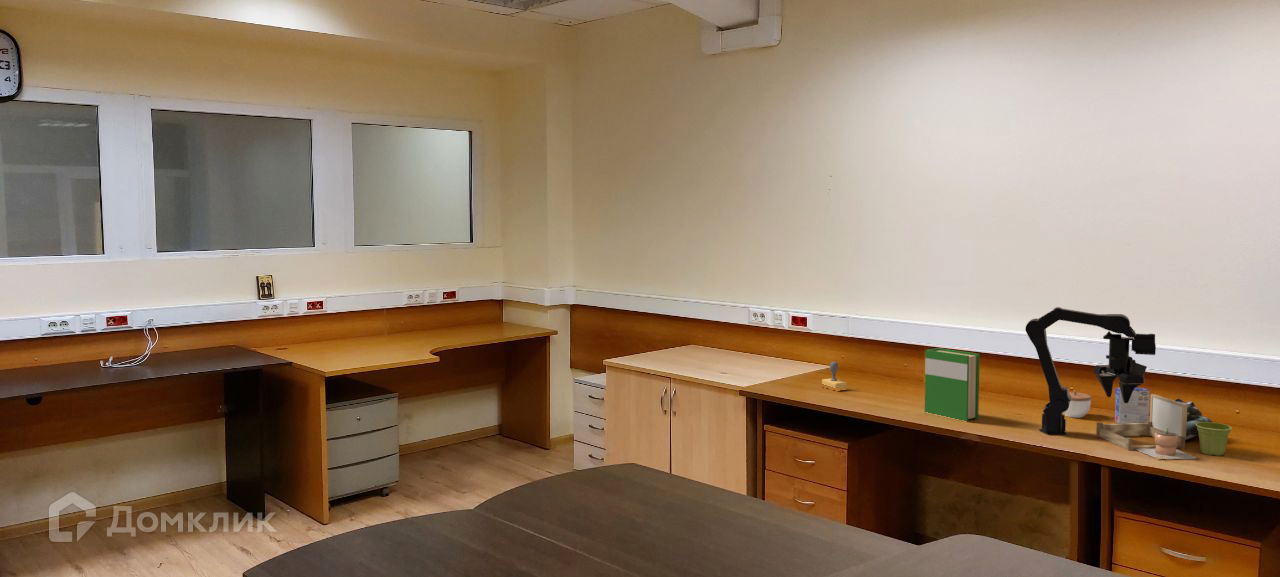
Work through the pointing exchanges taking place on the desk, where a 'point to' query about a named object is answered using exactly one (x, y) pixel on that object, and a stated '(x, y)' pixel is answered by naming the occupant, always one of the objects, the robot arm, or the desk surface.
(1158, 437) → the seedling pot
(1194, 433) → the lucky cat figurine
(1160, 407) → the lid pane
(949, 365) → the hardback book
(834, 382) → the rubber stamp
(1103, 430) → the frame
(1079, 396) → the lidded jar
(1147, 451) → the stone tile
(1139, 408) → the ink cartridge box
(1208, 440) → the plant pot
